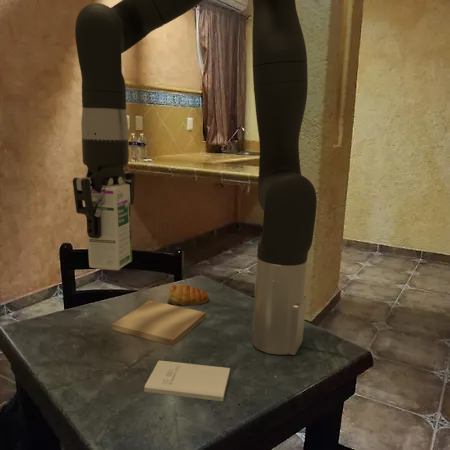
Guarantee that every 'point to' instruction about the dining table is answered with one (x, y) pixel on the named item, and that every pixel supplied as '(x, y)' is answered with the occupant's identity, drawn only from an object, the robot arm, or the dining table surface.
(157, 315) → the board
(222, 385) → the external hard drive
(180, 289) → the pastry
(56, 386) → the dining table surface
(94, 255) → the syrup box
